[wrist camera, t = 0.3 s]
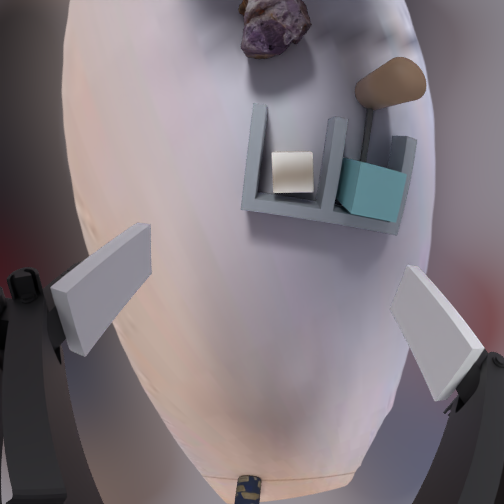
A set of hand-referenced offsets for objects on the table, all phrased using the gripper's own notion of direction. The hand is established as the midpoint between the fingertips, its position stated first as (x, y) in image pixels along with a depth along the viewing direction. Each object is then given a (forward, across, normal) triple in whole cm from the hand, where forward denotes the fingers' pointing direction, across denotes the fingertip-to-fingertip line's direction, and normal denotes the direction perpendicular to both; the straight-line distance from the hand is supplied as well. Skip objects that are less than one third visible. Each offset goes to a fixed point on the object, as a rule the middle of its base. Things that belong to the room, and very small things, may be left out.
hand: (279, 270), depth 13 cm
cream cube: (+27, +2, +2) cm, 27 cm away
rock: (+27, -4, +23) cm, 36 cm away
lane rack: (+27, +6, +4) cm, 28 cm away
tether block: (+27, +11, +9) cm, 31 cm away
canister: (+27, +10, -110) cm, 113 cm away
